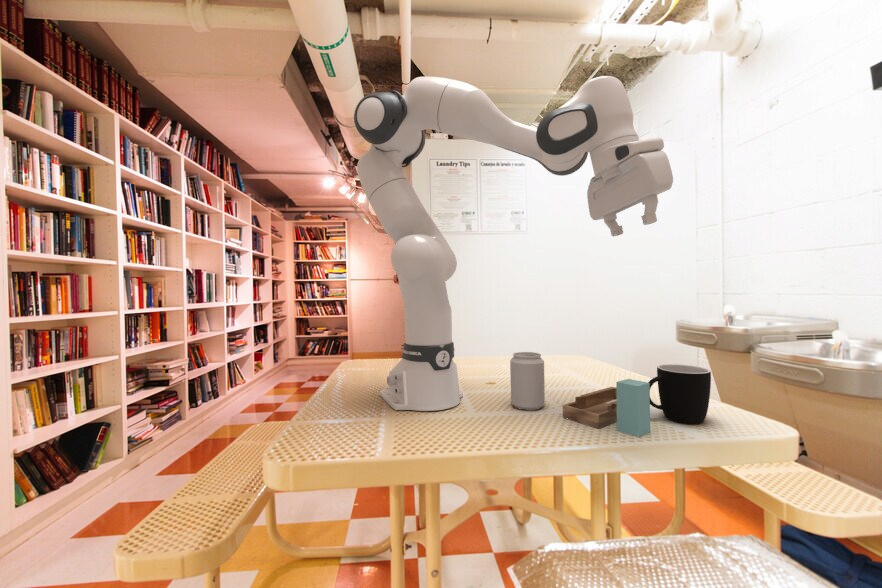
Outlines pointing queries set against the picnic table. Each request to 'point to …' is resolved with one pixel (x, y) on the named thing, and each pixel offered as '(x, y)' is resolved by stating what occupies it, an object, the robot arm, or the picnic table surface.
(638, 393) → the block
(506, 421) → the picnic table surface
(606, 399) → the brown wooden tray
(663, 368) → the mug
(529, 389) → the can
